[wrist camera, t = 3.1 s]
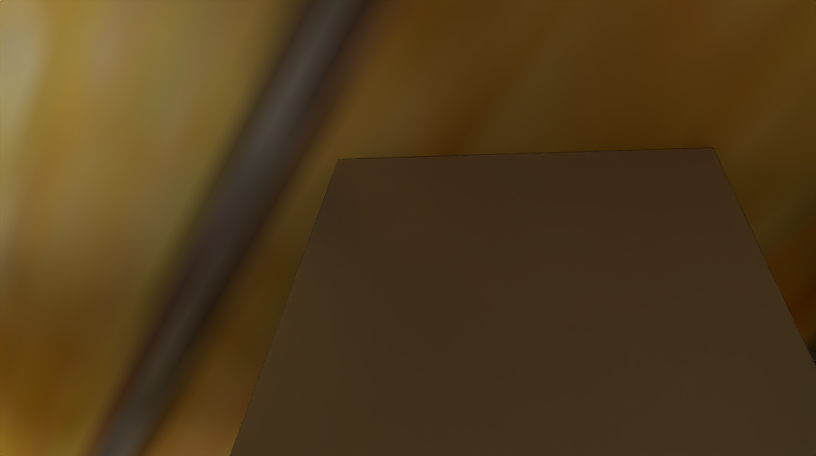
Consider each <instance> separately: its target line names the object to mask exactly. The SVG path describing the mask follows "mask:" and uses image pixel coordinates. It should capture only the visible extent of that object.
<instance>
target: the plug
mask: <svg viewBox="0 0 816 456" xmlns="http://www.w3.org/2000/svg"><path fill="white" fill-rule="evenodd" d="M230 456H816V366H815V364H814V362H813V360H812V358H811V355H810V353H809V351H808V349H807V347H806V345H805V343H804V341H803V338H802V336H801V334H800V332H799V330H798V328H797V326H796V324H795V321H794V319H793V317H792V315H791V313H790V311H789V309H788V306H787V304H786V302H785V300H784V298H783V296H782V294H781V292H780V289H779V287H778V285H777V283H776V281H775V279H774V277H773V275H772V272H771V270H770V268H769V266H768V264H767V262H766V260H765V257H764V255H763V253H762V251H761V249H760V247H759V245H758V243H757V240H756V238H755V236H754V234H753V232H752V230H751V228H750V226H749V223H748V221H747V219H746V217H745V215H744V213H743V211H742V208H741V206H740V204H739V202H738V200H737V198H736V196H735V194H734V191H733V189H732V187H731V185H730V183H729V181H728V179H727V177H726V174H725V172H724V170H723V168H722V166H721V164H720V162H719V159H718V157H717V155H716V153H715V151H714V149H713V148H692V149H659V150H627V151H595V152H562V153H530V154H498V155H465V156H433V157H401V158H368V159H338V162H337V165H336V168H335V170H334V173H333V176H332V178H331V181H330V184H329V187H328V189H327V192H326V195H325V198H324V200H323V203H322V206H321V209H320V211H319V214H318V217H317V219H316V222H315V225H314V228H313V230H312V233H311V236H310V239H309V241H308V244H307V247H306V250H305V252H304V255H303V258H302V260H301V263H300V266H299V269H298V271H297V274H296V277H295V280H294V282H293V285H292V288H291V290H290V293H289V296H288V299H287V301H286V304H285V307H284V310H283V312H282V315H281V318H280V321H279V323H278V326H277V329H276V331H275V334H274V337H273V340H272V342H271V345H270V348H269V351H268V353H267V356H266V359H265V362H264V364H263V367H262V370H261V372H260V375H259V378H258V381H257V383H256V386H255V389H254V392H253V394H252V397H251V400H250V402H249V405H248V408H247V411H246V413H245V416H244V419H243V422H242V424H241V427H240V430H239V433H238V435H237V438H236V441H235V443H234V446H233V449H232V452H231V454H230Z"/></svg>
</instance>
